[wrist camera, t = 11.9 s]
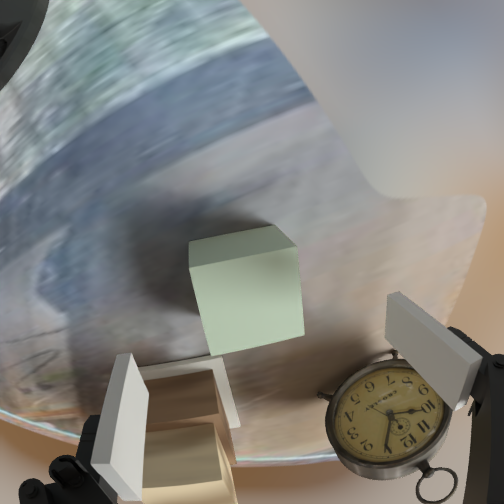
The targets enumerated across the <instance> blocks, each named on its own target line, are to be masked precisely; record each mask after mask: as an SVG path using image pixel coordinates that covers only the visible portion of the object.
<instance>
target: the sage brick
mask: <svg viewBox="0 0 504 504" xmlns="http://www.w3.org/2000/svg"><path fill="white" fill-rule="evenodd" d="M189 271H190V275H191V279H192V284H193V288H194V292H195V296H196V300H197V304H198V308H199V312H200V316H201V320H202V324H203V328H204V332H205V335H206V339H207V343H208V347H209V350H210V354H211V356H215V355H220V354H225V353H230V352H235V351H240V350H244V349H249V348H253V347H258V346H262V345H266V344H271V343H275V342H279V341H283V340H287V339H291V338H295V337H299V336H303V335H305V334H304V320H303V307H302V295H301V283H300V272H299V261H298V251H297V246H296V245H295V244H294V243H293V242H292V241H291V240H290V239H289V238H288V237H287V236H286V235H285V234H284V233H283V232H282V231H281V230H280V229H279V228H278V227H277V226H276V225H272V226H266V227H261V228H256V229H250V230H245V231H240V232H235V233H230V234H224V235H219V236H214V237H209V238H204V239H199V240H194V241H189Z"/></svg>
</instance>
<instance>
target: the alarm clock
mask: <svg viewBox="0 0 504 504" xmlns="http://www.w3.org/2000/svg"><path fill="white" fill-rule="evenodd" d="M392 355H393V358H392V359H390V360H384V361H380V362H376V363H373V364H370V365H368V366H366V367H364V368H362V369H360V370H359V371H357V372H356V373H354V374H353V375H351V376H350V377H349V378H347V379H346V380H345V381H344V382H343V383H342V384H341V385H340V386H339V387H338V389H337V390H336V391H335V393H334V394H333V395H329V394H324V393H323V392H318V394H317V396H318V398H323V399H325V400H327V401H329V405H328V407H327V411H326V416H325V427H326V433H327V436H328V439H329V441H330V443H331V445H332V446H333V448H334V450H335V452H336V454H337V456H338V458H339V459H340V461H341V462H342V463H343V464H344V466H346V467H347V468H348V469H349V470H350V471H352V472H353V473H355V474H357V475H359V476H361V477H365V478H368V479H373V480H392V479H397V478H401V477H405V476H407V475H410V474H412V473H414V472H416V471H418V470H420V471H421V472H422V473H423V475H422V477H421V479H419V481H418V483H417V485H416V495H417V498H418V499H419V501H420V502H422V503H424V504H441V503H443V502H445V501H446V500H448V499H449V498H450V497H451V496H452V495H453V494H454V493H455V491H456V488H457V485H458V477H457V475H456V473H455V472H454V471H452V470H451V469H449V468H442V467H439V468H431V467H430V466H429V462H430V461H431V460H432V459H433V458H434V457H435V455H436V454H437V453H438V452H439V450H440V449H441V447H442V445H443V443H444V441H445V438H446V436H447V432H448V429H449V425H450V420H451V417H452V411H453V410H452V409H451V408H450V407H449V406H448V404H447V403H446V402H445V401H444V400H443V399H442V398H441V397H440V396H439V395H438V394H437V393H436V391H435V390H434V389H433V388H432V387H431V386H430V385H429V384H428V383H427V382H426V381H425V380H424V379H423V378H422V376H421V375H420V374H419V373H418V372H417V371H416V370H415V369H414V368H413V367H412V366H411V365H410V364H409V363H408V362H407V361H406V360H405V359H398V357H397V355H398V351H397V350H394V351H393V352H392ZM438 470H445V471H448V472H449V473H451V474H452V476H453V478H454V487H453V489H452V491H451V492H450V494H449V495H448V496H446V497H445V498H444V499H441V500H439V501H427V500H425V499H423V498H422V497H421V495H420V493H419V486H420V483H421V482H422V480H423V479H424V478H430V477H431V476H432V475H433V474H434V472H435V471H438Z"/></svg>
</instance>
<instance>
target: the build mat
mask: <svg viewBox="0 0 504 504" xmlns="http://www.w3.org/2000/svg"><path fill="white" fill-rule="evenodd" d="M137 368H138V370H139V372H140V375H141V377H142V379H143V381H144V380H152V379H158V378H165V377H171V376H177V375H183V374H189V373H195V372H200V371H206V370H211V369H212V370H213V373H214V376H215V380H216V383H217V387H218V390H219V393H220V397H221V400H222V403H223V406H224V410H225V413H226V416H227V419H228V422H229V427H230V429H231V428H236V427H241V425H240V421H239V418H238V414H237V410H236V407H235V403H234V399H233V396H232V392H231V388H230V385H229V381H228V377H227V373H226V369H225V365H224V361H223V357H222V354H220V355H215V356H211V355H208V356H203V357H198V358H193V359H187V360H181V361H176V362H170V363H164V364H157V365H151V366H144V367H137Z"/></svg>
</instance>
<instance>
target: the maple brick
mask: <svg viewBox="0 0 504 504" xmlns="http://www.w3.org/2000/svg"><path fill="white" fill-rule="evenodd" d="M142 502H143V503H144V504H238V503H237V498H236V493H235V488H234V484H233V478H232V473H231V468H230V464H229V461H228V459H227V456H226V454H225V451H224V449H223V446H222V444H221V441H220V439H219V436H218V433H217V431H216V428H215V426H214V423H211V424H205V425H199V426H193V427H186V428H179V429H172V430H164V431H155V432H146V433H145V444H144V459H143V478H142Z"/></svg>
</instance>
